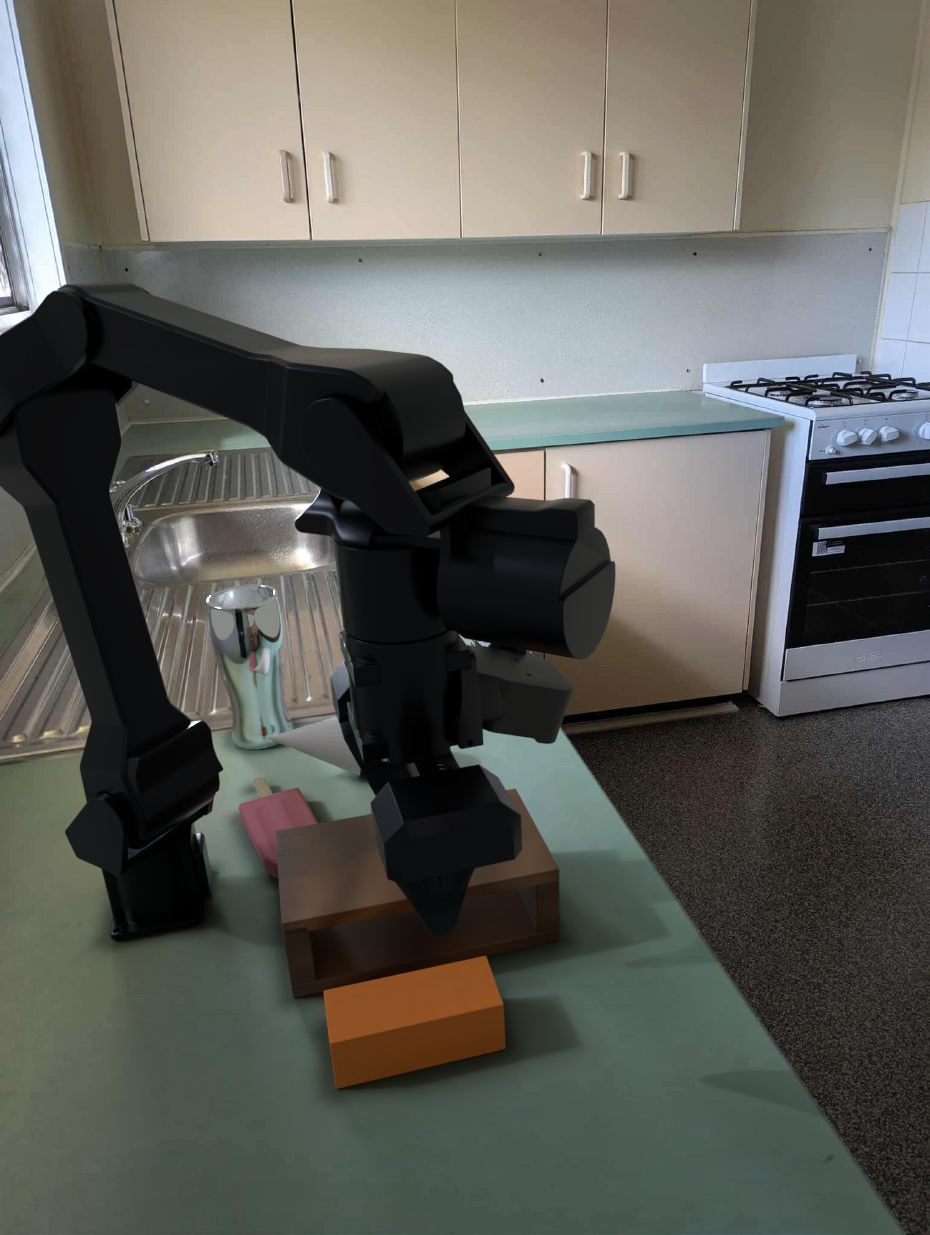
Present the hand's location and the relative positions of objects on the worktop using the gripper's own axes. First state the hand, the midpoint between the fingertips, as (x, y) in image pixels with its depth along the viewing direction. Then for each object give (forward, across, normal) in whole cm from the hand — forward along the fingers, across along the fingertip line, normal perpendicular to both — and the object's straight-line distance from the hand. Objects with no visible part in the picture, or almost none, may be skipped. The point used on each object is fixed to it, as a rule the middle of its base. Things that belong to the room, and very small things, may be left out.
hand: (422, 878), depth 49 cm
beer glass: (+11, +41, +8) cm, 43 cm away
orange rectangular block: (+11, -1, +1) cm, 11 cm away
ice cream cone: (+11, +31, 0) cm, 33 cm away
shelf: (+11, +10, -1) cm, 15 cm away
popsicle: (+11, +24, +7) cm, 28 cm away
